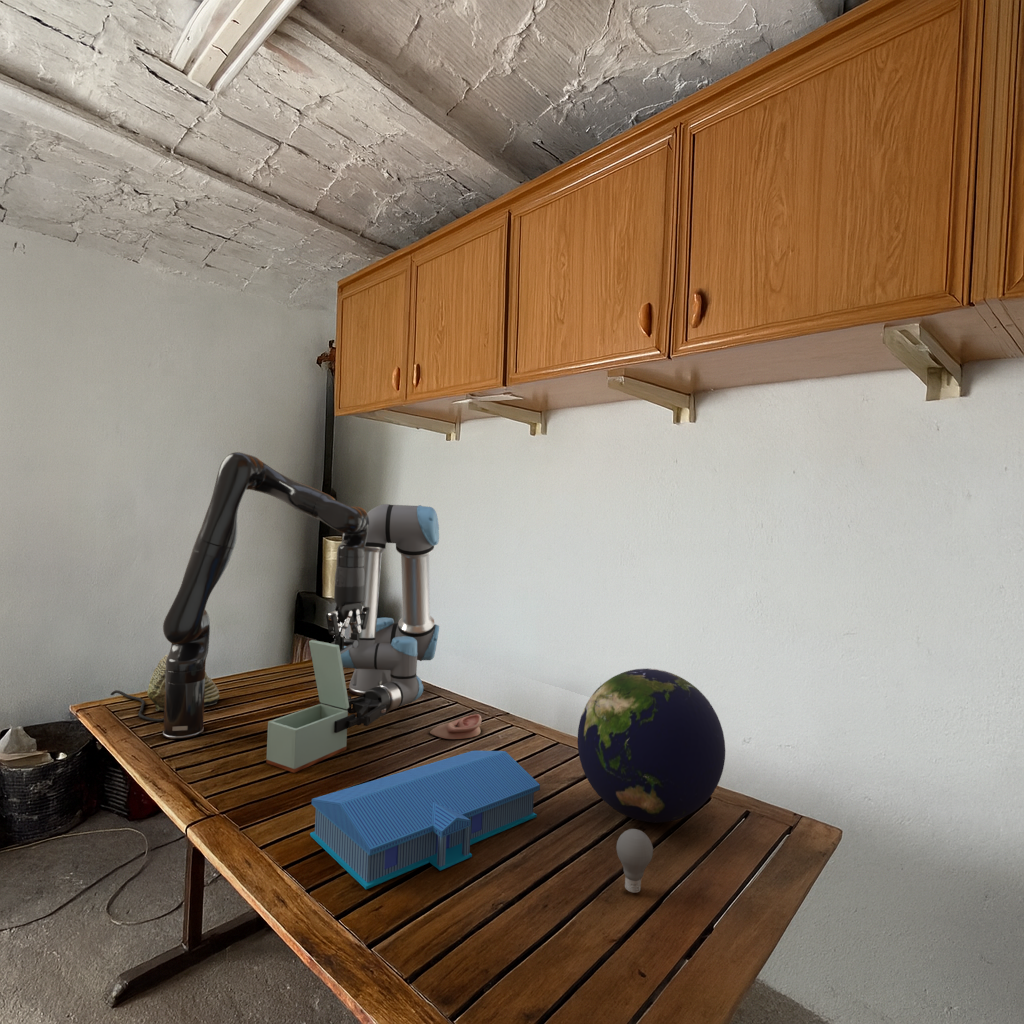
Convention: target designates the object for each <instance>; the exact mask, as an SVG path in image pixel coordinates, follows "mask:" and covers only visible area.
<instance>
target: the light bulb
mask: <svg viewBox="0 0 1024 1024" xmlns="http://www.w3.org/2000/svg"><path fill="white" fill-rule="evenodd" d="M615 849H616V854H617V857H618V859H619V861H620V863H621V865H622V867H623V873H624V874H623V875H624V876H625V878H624V888H625V890H627V891H628V892H630V893H634V894H635V893H639V892H640V891H641V889H642V887H641V886H642V879H643V877H644V875H645V871H646V868H647V867H648V866H649V864H650V863H651V861H652V859H653V855H654V847H653V843H652V841H651V838H649V836H648V835H647V834H646V833H645V832H643V831H642V830H641V829H636V828H629V829H627V830H625V831H623V832H622V833H621V834H620V835H619V837H618V839H617V841H616V847H615Z"/></svg>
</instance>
